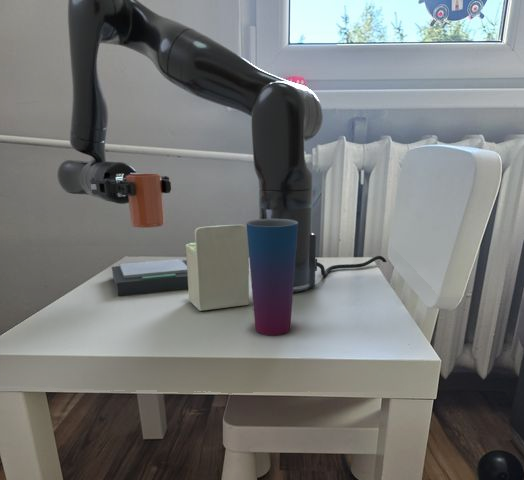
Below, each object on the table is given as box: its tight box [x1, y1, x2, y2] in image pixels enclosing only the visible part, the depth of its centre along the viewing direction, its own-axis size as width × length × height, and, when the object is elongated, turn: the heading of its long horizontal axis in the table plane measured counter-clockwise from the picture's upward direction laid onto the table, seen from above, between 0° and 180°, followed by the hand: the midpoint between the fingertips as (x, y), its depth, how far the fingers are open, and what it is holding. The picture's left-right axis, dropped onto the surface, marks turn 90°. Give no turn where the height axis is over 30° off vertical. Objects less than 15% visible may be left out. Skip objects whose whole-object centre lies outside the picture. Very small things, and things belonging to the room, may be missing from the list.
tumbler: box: [126, 173, 166, 229], centre depth 88 cm, size 6×6×8 cm
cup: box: [246, 219, 298, 336], centre depth 68 cm, size 7×7×15 cm
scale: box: [111, 258, 188, 297], centre depth 95 cm, size 15×13×3 cm
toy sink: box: [185, 224, 250, 312], centre depth 81 cm, size 8×7×13 cm
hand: (150, 187), depth 85 cm, fingers closed on tumbler, 6 cm apart
